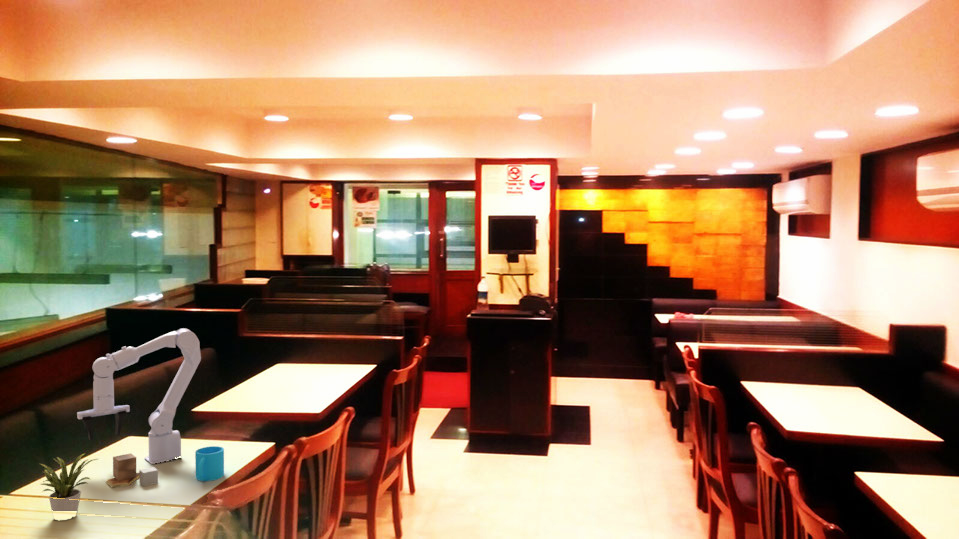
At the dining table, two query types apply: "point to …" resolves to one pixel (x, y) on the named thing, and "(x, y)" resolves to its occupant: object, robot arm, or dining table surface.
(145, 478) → the light-grey block
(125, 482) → the shard
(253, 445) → the dining table surface
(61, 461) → the house plant
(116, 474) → the walnut block
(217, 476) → the mug
